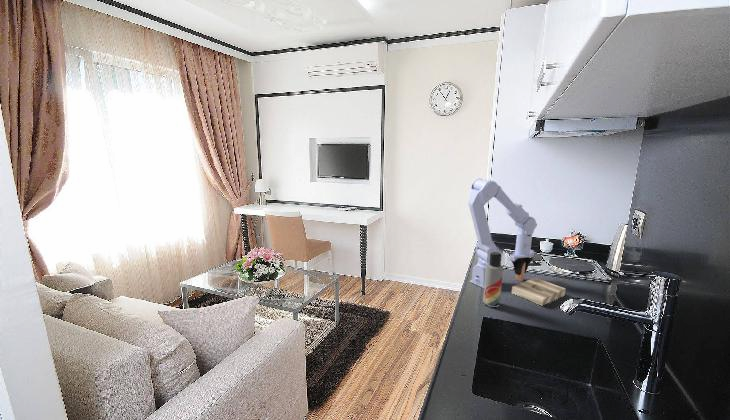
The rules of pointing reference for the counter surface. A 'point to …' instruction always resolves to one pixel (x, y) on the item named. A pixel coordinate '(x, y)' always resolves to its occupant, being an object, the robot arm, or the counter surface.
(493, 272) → the lotion bottle
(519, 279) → the peg
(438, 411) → the counter surface
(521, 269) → the robot arm
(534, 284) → the socket block
